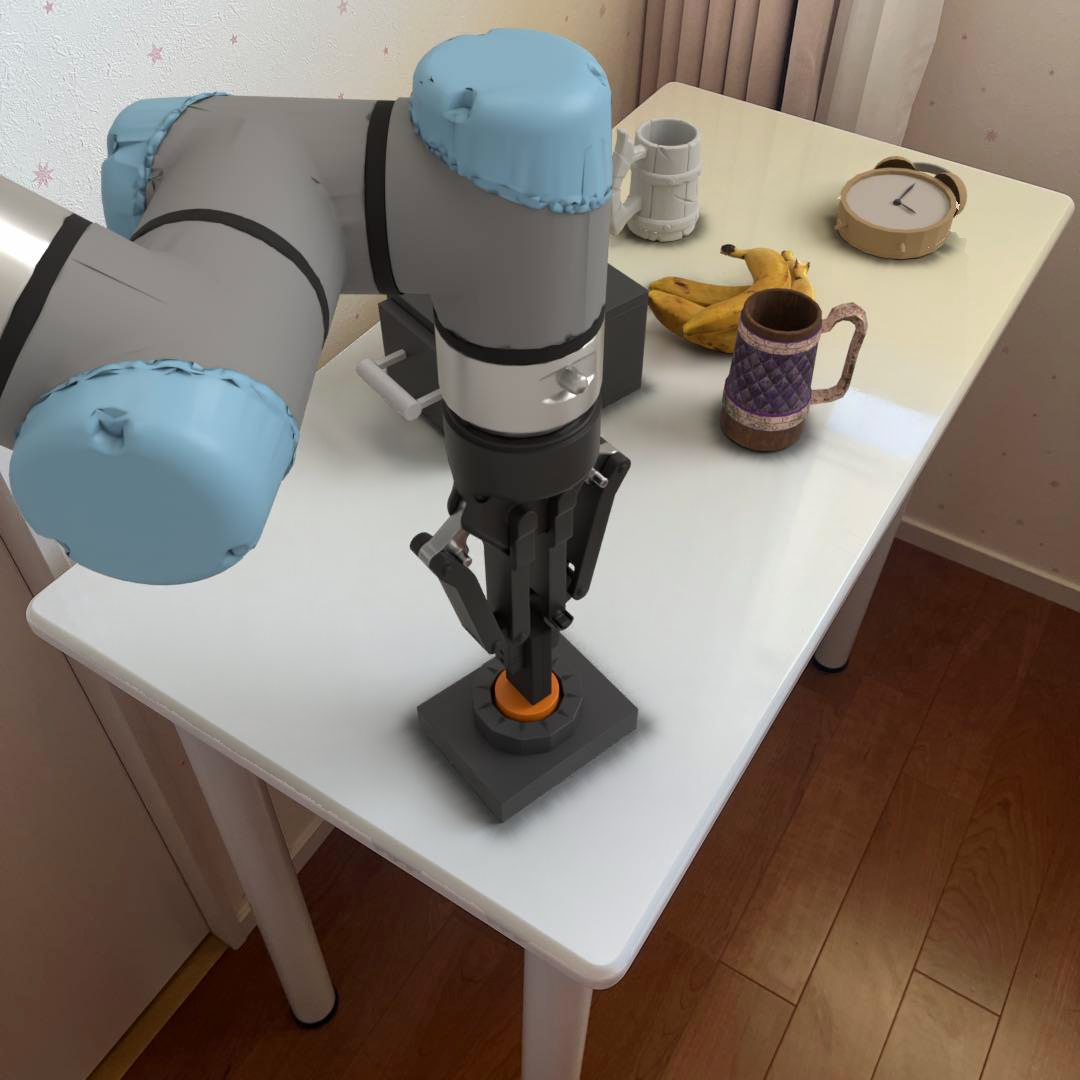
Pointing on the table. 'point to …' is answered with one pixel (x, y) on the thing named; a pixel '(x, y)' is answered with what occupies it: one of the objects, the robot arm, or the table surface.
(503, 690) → the button
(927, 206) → the alarm clock
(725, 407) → the mug
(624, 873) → the table surface
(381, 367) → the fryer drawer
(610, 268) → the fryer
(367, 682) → the table surface
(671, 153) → the mug
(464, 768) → the control block
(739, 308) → the banana
